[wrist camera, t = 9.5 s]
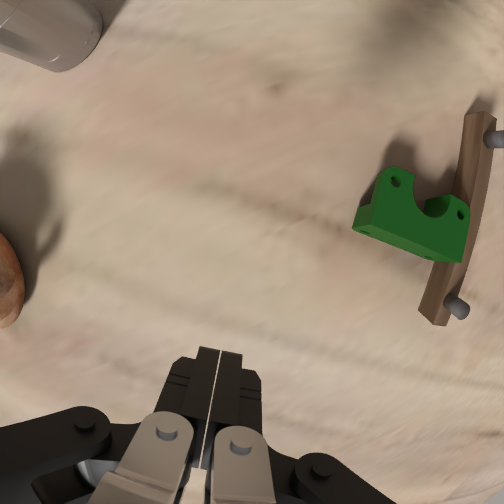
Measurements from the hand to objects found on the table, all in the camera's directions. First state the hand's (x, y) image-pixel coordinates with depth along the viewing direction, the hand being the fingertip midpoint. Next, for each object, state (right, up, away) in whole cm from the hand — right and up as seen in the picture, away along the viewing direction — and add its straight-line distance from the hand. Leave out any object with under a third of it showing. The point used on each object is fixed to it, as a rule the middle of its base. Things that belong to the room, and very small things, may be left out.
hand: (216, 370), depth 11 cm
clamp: (+17, +8, +21) cm, 28 cm away
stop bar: (+24, +8, +20) cm, 33 cm away
